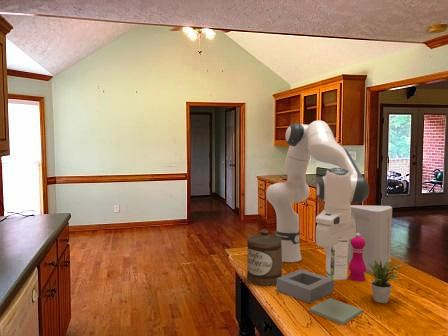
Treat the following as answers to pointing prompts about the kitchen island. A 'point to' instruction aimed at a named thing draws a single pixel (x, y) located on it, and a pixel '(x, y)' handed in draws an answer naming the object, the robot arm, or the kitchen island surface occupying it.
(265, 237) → the wooden container
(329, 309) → the mat
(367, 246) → the white triangular bin
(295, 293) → the frame
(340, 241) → the syrup box
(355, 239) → the pepper mill
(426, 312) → the kitchen island surface
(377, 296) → the house plant
